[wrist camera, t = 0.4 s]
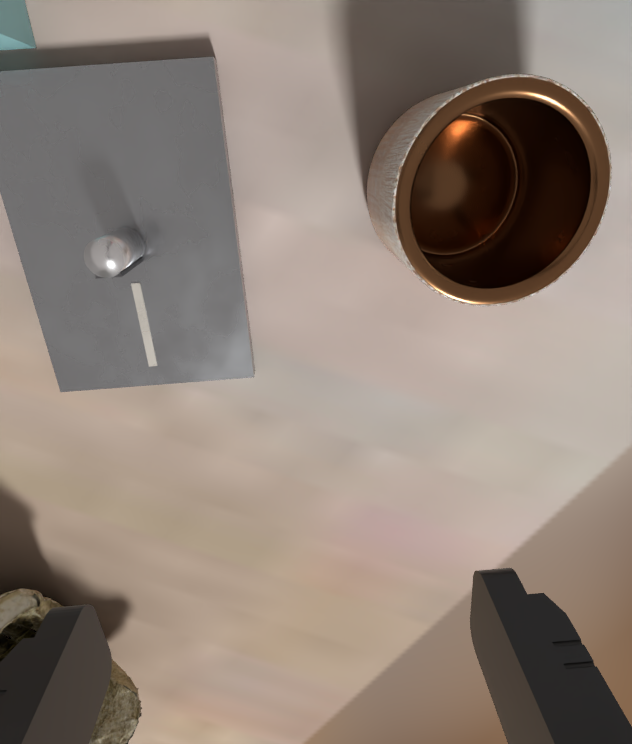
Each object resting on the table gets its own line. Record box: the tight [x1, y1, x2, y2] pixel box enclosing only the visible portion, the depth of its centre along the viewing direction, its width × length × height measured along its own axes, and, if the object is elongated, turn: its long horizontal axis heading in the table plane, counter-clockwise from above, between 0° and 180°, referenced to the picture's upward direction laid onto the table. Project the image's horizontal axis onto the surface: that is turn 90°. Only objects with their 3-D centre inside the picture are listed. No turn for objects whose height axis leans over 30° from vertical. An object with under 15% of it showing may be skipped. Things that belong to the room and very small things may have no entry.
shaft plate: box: [0, 57, 255, 392], centre depth 31 cm, size 20×14×6 cm
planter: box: [367, 74, 612, 306], centre depth 29 cm, size 11×11×10 cm
